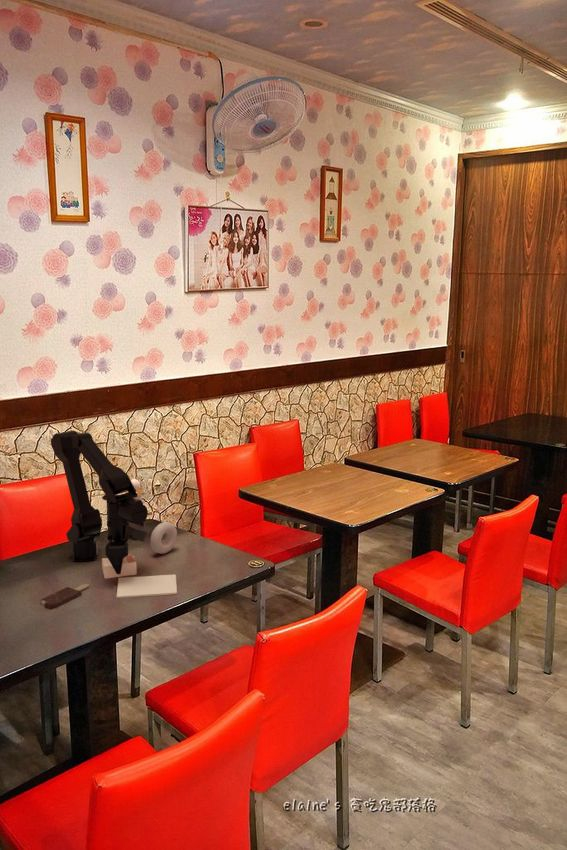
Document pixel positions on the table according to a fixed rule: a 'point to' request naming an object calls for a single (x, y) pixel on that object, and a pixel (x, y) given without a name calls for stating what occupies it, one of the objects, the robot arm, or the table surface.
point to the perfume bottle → (137, 489)
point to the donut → (169, 541)
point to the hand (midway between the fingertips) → (119, 567)
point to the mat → (146, 586)
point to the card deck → (126, 570)
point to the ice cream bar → (62, 596)
